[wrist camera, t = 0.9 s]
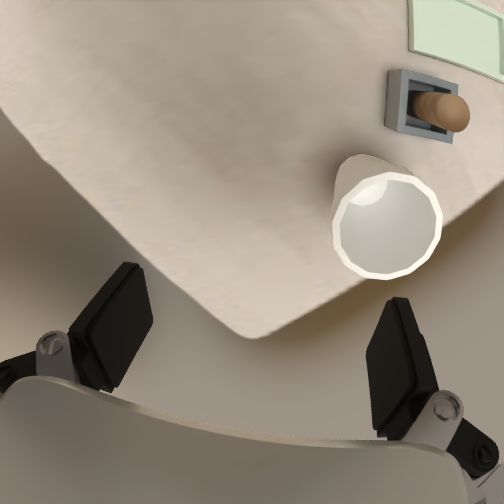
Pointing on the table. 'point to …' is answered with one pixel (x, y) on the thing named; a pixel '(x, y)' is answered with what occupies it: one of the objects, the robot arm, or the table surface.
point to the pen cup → (398, 97)
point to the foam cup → (382, 218)
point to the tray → (459, 34)
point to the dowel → (438, 109)
